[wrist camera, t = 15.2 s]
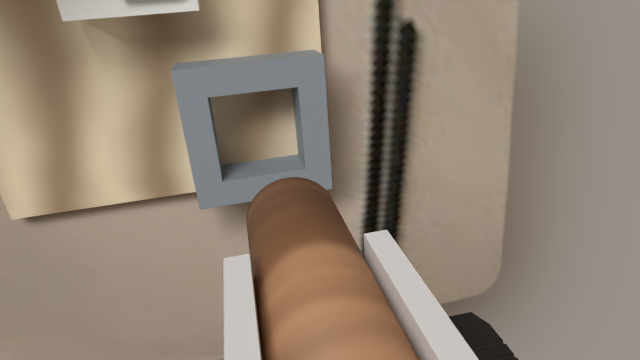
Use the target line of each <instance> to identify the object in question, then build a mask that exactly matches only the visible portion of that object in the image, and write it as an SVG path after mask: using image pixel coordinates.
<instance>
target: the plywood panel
mask: <svg viewBox="0 0 640 360" xmlns="http://www.w3.org/2000/svg"><path fill="white" fill-rule="evenodd" d="M200 6H201V10H199V11H187V12H175V13H162V14H149V15H137V16H124V17H112V18H99V19H86V20H74V21H62V18H61V15H60V12H59V8H58V5H57V1H56V0H0V194H1V197H2V199H3V201H4V204H5V206H6V209H7V211H8V213H9V216H10V218H11V220H13V219H19V218H26V217H32V216H39V215H46V214H52V213H59V212H66V211H72V210H79V209H86V208H92V207H99V206H105V205H112V204H119V203H125V202H132V201H139V200H145V199H152V198H158V197H165V196H172V195H178V194H185V193H192V192H196V189H195V184H194V180H193V175H192V170H191V165H190V161H189V156H188V151H187V146H186V141H185V137H184V132H183V127H182V122H181V117H180V113H179V108H178V103H177V98H176V93H175V89H174V84H173V79H172V74H171V70H172V68H173V66H174V65H175V63H184V62H194V61H204V60H214V59H224V58H234V57H244V56H254V55H264V54H274V53H284V52H294V51H304V50H316V51H318V52H319V53H321V54H322V52H321V37H320V22H319V7H318V0H200ZM210 100H211V106H212V111H213V117H214V123H215V128H216V134H217V140H218V145H219V151H220V157H221V162H222V165H226V164H233V163H240V162H247V161H254V160H261V159H268V158H275V157H282V156H289V155H296V154H298V148H297V138H296V128H295V117H294V107H293V96H292V88H286V89H277V90H268V91H260V92H251V93H242V94H234V95H225V96H216V97H210Z"/></svg>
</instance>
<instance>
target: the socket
mask: <svg viewBox="0 0 640 360" xmlns="http://www.w3.org/2000/svg"><path fill="white" fill-rule="evenodd" d="M171 74H172V79H173V84H174V89H175V93H176V98H177V103H178V108H179V113H180V117H181V122H182V127H183V132H184V137H185V141H186V146H187V151H188V156H189V161H190V165H191V170H192V175H193V180H194V184H195V189H196V194H197V199H198V204H199V208H200V210H201V209H207V208H214V207H220V206H226V205H233V204H239V203H245V202H252V200H253V198H254V197H255V196H256V194H257V193H258V192H259V191H260V190H261V189H263V188H264V187H265V186H267V185H268V184H270V183H272V182H274V181H276V180H279V179H283V178H289V177H300V178H306V179H309V180H312V181H314V182H316V183H318V184H319V185H321V186H322V187H323V188H324V189H325V190H328V189H332V173H331V158H330V142H329V126H328V110H327V95H326V79H325V63H324V55H323V54H321V53H319V52H318V51H316V50H304V51H294V52H284V53H274V54H264V55H254V56H244V57H234V58H224V59H214V60H204V61H194V62H184V63H175V65H174V66H173V68H172V70H171ZM286 88H292V96H293V107H294V117H295V128H296V138H297V148H298V154H296V155H289V156H282V157H275V158H268V159H261V160H254V161H247V162H240V163H233V164H226V165H222V162H221V157H220V151H219V145H218V140H217V134H216V128H215V123H214V117H213V111H212V106H211V100H210V97H216V96H225V95H234V94H242V93H251V92H260V91H268V90H277V89H286Z"/></svg>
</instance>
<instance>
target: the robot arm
mask: <svg viewBox="0 0 640 360" xmlns="http://www.w3.org/2000/svg"><path fill="white" fill-rule="evenodd" d="M364 256H365V261H366V262H367V264H368V266H369V268H370V270H371V272H372V273H373V275H374V277H375V279H376V281H377V283H378V284H379V286H380V288H381V290H382V292H383V294H384V295H385V297H386V299H387V301H388V303H389V305H390V307H391V308H392V310H393V312H394V314H395V316H396V318H397V319H398V321H399V323H400V325H401V327H402V329H403V330H404V332H405V334H406V336H407V338H408V340H409V341H410V343H411V345H412V347H413V349H414V351H415V353H416V354H417V356H418V358H419V360H518V359H517V358H515V357H514V354H513V352H512V351H511V350H510V349H509V348H508V346H507V345H506V344H504V343H503V340H502V339H501V338H500V337H499V335H498V334H497V333H496V332H495V330H494V329H493V328H492V327H491V325H490V324H488V323H487V322H485V321H484V320H482V319H481V318H479V317H478V316H476V315H475V314H473V313H472V312H469V313H464V314H460V315H455V316H450V317H448V315H447V314H446V313H445V311H444V310H443V308H442V307H441V306H440V304H439V303H438V301H437V300H436V299H435V297H434V296H433V294H432V293H431V291H430V290H429V289H428V287H427V286H426V284H425V283H424V282H423V280H422V279H421V277H420V276H419V274H418V273H417V272H416V270H415V269H414V267H413V266H412V265H411V263H410V262H409V260H408V259H407V257H406V256H405V255H404V253H403V252H402V250H401V249H400V248H399V246H398V245H397V243H396V242H395V240H394V239H393V238H392V236H391V235H390V233H389V232H388V231H387V230H383V231H378V232H372V233H366V234H364ZM224 360H263V358H262V349H261V340H260V331H259V322H258V313H257V304H256V295H255V286H254V278H253V272H252V266H251V260H250V254H245V255H239V256H233V257H228V258H224Z"/></svg>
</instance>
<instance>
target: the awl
mask: <svg viewBox="0 0 640 360" xmlns="http://www.w3.org/2000/svg"><path fill="white" fill-rule="evenodd" d="M246 221H247V232H248V241H249V250H250V260H251V266H252V272H253V278H254V286H255V295H256V304H257V313H258V322H259V331H260V340H261V349H262V358H263V360H419V358H418V356H417V354H416V353H415V351H414V349H413V347H412V345H411V343H410V341H409V340H408V338H407V336H406V334H405V332H404V330H403V329H402V327H401V325H400V323H399V321H398V319H397V318H396V316H395V314H394V312H393V310H392V308H391V307H390V305H389V303H388V301H387V299H386V297H385V295H384V294H383V292H382V290H381V288H380V286H379V284H378V283H377V281H376V279H375V277H374V275H373V273H372V272H371V270H370V268H369V266H368V264H367V262H366V261H365V259H364V257H363V255H362V253H361V251H360V250H359V248H358V246H357V244H356V242H355V240H354V238H353V237H352V235H351V233H350V231H349V229H348V227H347V226H346V224H345V222H344V220H343V218H342V216H341V215H340V213H339V211H338V209H337V207H336V205H335V204H334V202H333V200H332V198H331V196H330V195H329V193H328V192H327V191H326V190H325V189H324V188H323V187H322V186H321V185H319V184H318V183H316V182H314V181H312V180H309V179H306V178H300V177H289V178H283V179H279V180H276V181H274V182H272V183H270V184H268V185H267V186H265V187H264V188H263V189H261V190H260V191H259V192H258V193H257V194H256V196H255V197H254V198H253V200H252V202H251V203H250V206H249V208H248V212H247V220H246Z"/></svg>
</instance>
